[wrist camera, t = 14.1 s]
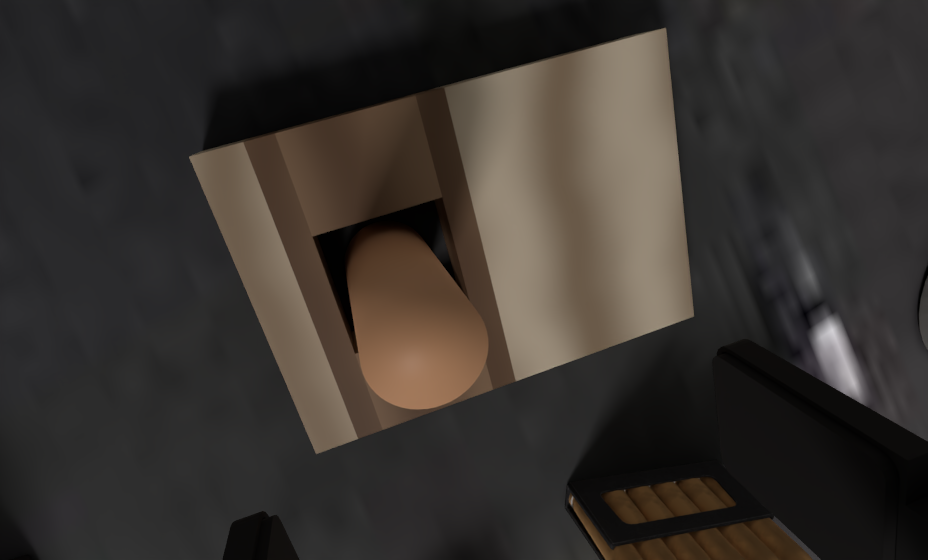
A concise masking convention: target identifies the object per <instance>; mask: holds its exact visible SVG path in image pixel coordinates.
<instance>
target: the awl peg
mask: <svg viewBox="0 0 928 560" xmlns="http://www.w3.org/2000/svg"><path fill="white" fill-rule="evenodd" d="M344 264H345V272H346V278H347V284H348V290H349V297H350V303H351V309H352V315H353V321H354V328H355V334H356V340H357V346H358V352H359V359H360V365H361V369H362V373H363V375H364V377H365V380H366V381H367V383H368V385H369V386H370V387H371V389H372V390H373V391H374V392H375V393H376V394H377V395H378V396H379V397H381V398H382V399H384V400H385V401H387V402H389V403H391V404H393V405H395V406H399V407H402V408H407V409H429V408H435V407H438V406H441V405H444V404H446V403H449V402H451V401H453V400H454V399H456V398H458V397H459V396H460V395H462V394H463V393H464V392H466V391H467V390H468V389H469V388H470V387H471V386H472V385H473V383H474V382H475V381H476V380H477V378H478V377H479V375H480V373H481V371H482V370H483V368H484V365H485V362H486V359H487V355H488V346H489V344H488V334H487V329H486V326H485V323H484V322H483V320H482V318H481V316H480V315H479V313H478V312H477V310H476V309H475V308H474V306H473V305H472V304H471V302H470V301H469V300H468V298H467V297H466V296H465V294H464V293H463V292H462V290H461V289H460V288H459V286H458V285H457V284H456V282H455V281H454V280H453V278H452V277H451V276H450V274H449V273H448V272H447V270H446V269H445V268H444V266H443V265H442V264H441V262H440V261H439V260H438V258H437V257H436V256H435V254H434V253H433V252H432V250H431V249H430V248H429V246H428V245H427V244H426V242H425V241H424V240H423V238H422V237H421V236H420V235H419V234H418V233H417V231H415V230H414V229H413V228H411V227H410V226H408V225H406V224H404V223H401V222H398V221H388V220H386V221H378V222H374V223H372V224H369V225H367V226H365V227H364V228H362V229H361V230H360V231H359V232H358V233H356V234H355V236H354V237H353V238H352V240H351V241H350V243H349V245H348V247H347V250H346V253H345V262H344Z"/></svg>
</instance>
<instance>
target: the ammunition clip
mask: <svg viewBox="0 0 928 560" xmlns="http://www.w3.org/2000/svg"><path fill="white" fill-rule="evenodd" d="M565 509H566V510H567V512H568V513H569V515H570V516H571V518H572V519H573V521H574V522H575V524H576V525H577V526H578V528H579V529H580V531H581V532H582V534H583V535H584V537H585V538H586V540H587V541H588V543H589V544H590V546H591V547H592V548H593V550H594V551H595V553H596V554H597V556H598V557H599V559H600V560H812V558H811V557H810V556H809V555H808V554H807V553H806V552H805V551H804V550H803V549H802V548H801V547H800V546H799V545H798V544H797V543H796V542H795V541H794V540H792V539H791V538H790V537H789V536H788V535H787V534H786V533H785V532H784V531H783V530H782V529H781V528H780V527H779V526H777V525H776V524H775V523H774V522H773V521H772V520H773V518H774V515H773V514H772V513H771V512H770V511H769V510H768V509H767V508H766V507H765V506H764V505H763V504H762V503H760V502H759V501H758V500H757V499H756V498H755V497H754V496H753V495H752V494H751V493H750V492H749V491H748V490H747V489H746V488H744V487H743V486H742V485H741V484H740V483H739V482H738V481H737V480H736V479H735V478H734V477H733V476H732V475H731V474H730V473H729V472H728V471H727V469H726V468H725V467H724V466H723V465H722V464H721V463H719V462H718V461H717V460H712V461H705V462H699V463H692V464H686V465H679V466H672V467H666V468H659V469H653V470H646V471H639V472H633V473H626V474H620V475H613V476H607V477H600V478H593V479H587V480H580V481H574V482H569V484H568V485H567V493H566V503H565ZM770 518H771V519H772V520H771V519H770Z"/></svg>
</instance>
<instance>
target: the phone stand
mask: <svg viewBox="0 0 928 560" xmlns="http://www.w3.org/2000/svg"><path fill="white" fill-rule="evenodd" d="M10 560H32V559H31V557H30V556H29V555H24V556H21V557H17V558H14V559H10Z"/></svg>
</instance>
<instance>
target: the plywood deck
mask: <svg viewBox="0 0 928 560" xmlns="http://www.w3.org/2000/svg"><path fill="white" fill-rule="evenodd" d="M189 158H190V160H191V162H192V165H193V167H194V169H195V172H196V174H197V176H198V179H199V181H200V183H201V186H202V188H203V190H204V193H205V195H206V197H207V200H208V202H209V205H210V207H211V209H212V212H213V214H214V216H215V219H216V221H217V223H218V226H219V228H220V230H221V233H222V235H223V237H224V240H225V242H226V244H227V247H228V249H229V251H230V254H231V256H232V258H233V261H234V263H235V265H236V268H237V270H238V272H239V275H240V277H241V279H242V282H243V284H244V286H245V289H246V291H247V293H248V296H249V298H250V300H251V303H252V305H253V307H254V310H255V312H256V314H257V317H258V319H259V321H260V324H261V326H262V328H263V331H264V333H265V335H266V338H267V340H268V342H269V345H270V347H271V349H272V352H273V354H274V356H275V359H276V361H277V363H278V366H279V368H280V370H281V373H282V375H283V377H284V380H285V382H286V385H287V387H288V389H289V392H290V394H291V396H292V399H293V401H294V403H295V406H296V408H297V410H298V413H299V415H300V417H301V420H302V422H303V424H304V427H305V429H306V431H307V434H308V436H309V438H310V441H311V443H312V445H313V448H314V450H315V452H316V454H318V453H320V452H323V451H326V450H329V449H331V448H334V447H337V446H340V445H342V444H345V443H348V442H350V441H353V440H356V439H359V438H361V437H364V436H367V435H370V434H372V433H375V432H378V431H381V430H383V429H386V428H389V427H392V426H394V425H397V424H400V423H403V422H405V421H408V420H411V419H414V418H416V417H419V416H422V415H425V414H427V413H430V412H433V411H436V410H438V409H441V408H444V407H447V406H449V405H452V404H455V403H457V402H460V401H463V400H466V399H468V398H471V397H474V396H477V395H479V394H482V393H485V392H488V391H490V390H493V389H496V388H499V387H501V386H504V385H507V384H510V383H512V382H515V381H518V380H521V379H523V378H526V377H529V376H532V375H534V374H537V373H540V372H543V371H545V370H548V369H551V368H554V367H556V366H559V365H562V364H565V363H567V362H570V361H573V360H575V359H578V358H581V357H584V356H586V355H589V354H592V353H595V352H597V351H600V350H603V349H606V348H608V347H611V346H614V345H617V344H619V343H622V342H625V341H628V340H630V339H633V338H636V337H639V336H641V335H644V334H647V333H650V332H652V331H655V330H658V329H661V328H663V327H666V326H669V325H672V324H674V323H677V322H680V321H682V320H685V319H688V318H691V317H693V316H694V311H693V301H692V290H691V280H690V270H689V260H688V249H687V239H686V229H685V219H684V208H683V198H682V188H681V178H680V167H679V157H678V147H677V137H676V126H675V116H674V106H673V96H672V85H671V75H670V65H669V55H668V44H667V34H666V28H663V29H658V30H653V31H649V32H644V33H639V34H634V35H631V36H627V37H623V38H620V39H616V40H612V41H608V42H605V43H601V44H597V45H594V46H590V47H586V48H582V49H579V50H575V51H571V52H568V53H564V54H560V55H556V56H553V57H549V58H545V59H542V60H538V61H534V62H530V63H527V64H523V65H519V66H516V67H512V68H508V69H505V70H501V71H497V72H493V73H490V74H486V75H482V76H479V77H475V78H471V79H467V80H464V81H460V82H456V83H453V84H449V85H445V86H441V87H438V88H434V89H430V90H427V91H423V92H419V93H415V94H412V95H408V96H404V97H401V98H397V99H393V100H389V101H386V102H382V103H378V104H375V105H371V106H367V107H364V108H360V109H356V110H352V111H349V112H345V113H341V114H338V115H334V116H330V117H326V118H323V119H319V120H315V121H312V122H308V123H304V124H300V125H297V126H293V127H289V128H286V129H282V130H278V131H274V132H271V133H267V134H263V135H260V136H256V137H252V138H248V139H245V140H241V141H237V142H234V143H230V144H226V145H223V146H219V147H215V148H211V149H208V150H204V151H201V152H199V153H196V154H194V155H192V156H189ZM432 200H434V202H435V205H436V209H437V213H438V216H439V220H440V224H441V227H442V231H443V235H444V239H445V242H446V246H447V250H448V253H449V257H450V261H451V264H452V268H453V272H454V276H455V279H456V283H457V285H458V286H459V288H460V289H461V290H462V292H463V293H464V294H465V296H466V297H467V298H468V300H469V301H470V302H471V304H472V305H473V306H474V308H475V309H476V310H477V312H478V313H479V315H480V316H481V318H482V320H483V322H484V323H485V326H486V329H487V334H488V344H489V346H488V355H487V359H486V362H485V365H484V368H483V370H482V371H481V373H480V375H479V377H478V378H477V380H476V381H475V382H474V383H473V385H472V386H471V387H470V388H469V389H468V390H467V391H466V392H464V393H463V394H462V395H460V396H459V397H458V398H456V399H454V400H453V401H451V402H449V403H446V404H444V405H441V406H438V407H435V408H429V409H407V408H402V407H399V406H395V405H393V404H391V403H389V402H387V401H385V400H384V399H382V398H381V397H379V396H378V395H377V394H376V393H375V392H374V391H373V390H372V389H371V387H370V386H369V385H368V383H367V381H366V380H365V377H364V375H363V373H362V369H361V365H360V359H359V352H358V346H357V340H356V334H355V331H353V332H352V331H351V328H350V326H349V323H348V320H347V317H346V315H345V312H344V309H343V306H342V303H341V301H340V298H339V295H338V292H337V290H336V287H335V284H334V281H333V278H332V276H331V273H330V270H329V267H328V265H327V262H326V259H325V256H324V254H323V251H322V248H321V245H320V242H319V240H318V237H317V235H319V234H322V233H326V232H329V231H332V230H336V229H339V228H342V227H346V226H349V225H352V224H356V223H359V222H362V221H365V220H369V219H372V218H375V217H379V216H382V215H385V214H389V213H392V212H395V211H399V210H402V209H405V208H409V207H412V206H415V205H418V204H422V203H425V202H428V201H432Z"/></svg>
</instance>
